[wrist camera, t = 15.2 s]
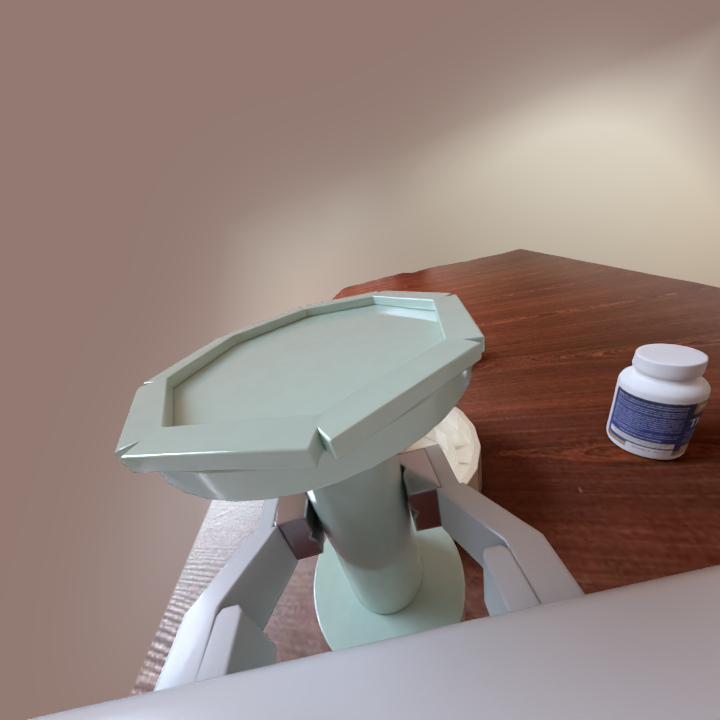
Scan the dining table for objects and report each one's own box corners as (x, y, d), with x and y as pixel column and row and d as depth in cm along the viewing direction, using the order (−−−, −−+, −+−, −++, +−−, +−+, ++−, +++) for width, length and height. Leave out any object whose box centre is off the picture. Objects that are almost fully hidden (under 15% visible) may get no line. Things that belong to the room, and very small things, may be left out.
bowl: (307, 553, 24) (286, 516, 21) (346, 428, 38) (336, 398, 35) (504, 568, 19) (504, 524, 17) (465, 422, 33) (462, 386, 31)
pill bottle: (694, 469, 22) (740, 373, 18) (610, 453, 25) (632, 367, 21) (673, 427, 26) (707, 340, 22) (602, 417, 29) (619, 339, 25)
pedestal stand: (273, 697, 9) (10, 463, 4) (330, 496, 15) (255, 315, 10) (515, 751, 7) (553, 438, 2) (464, 497, 13) (445, 277, 8)
